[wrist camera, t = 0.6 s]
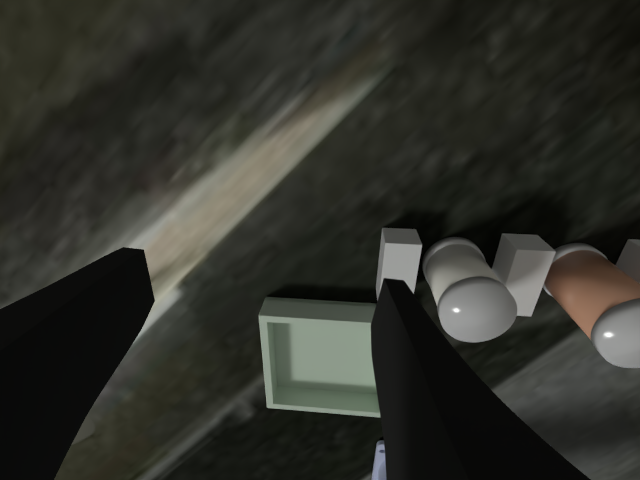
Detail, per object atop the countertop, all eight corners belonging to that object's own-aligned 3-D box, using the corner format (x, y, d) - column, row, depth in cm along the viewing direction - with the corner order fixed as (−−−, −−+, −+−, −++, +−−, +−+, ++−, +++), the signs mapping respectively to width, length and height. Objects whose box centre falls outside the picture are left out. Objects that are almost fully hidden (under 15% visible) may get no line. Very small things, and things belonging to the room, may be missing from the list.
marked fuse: (588, 294, 21) (667, 370, 16) (529, 291, 21) (587, 364, 16) (612, 244, 20) (709, 310, 14) (547, 241, 20) (619, 304, 14)
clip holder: (751, 309, 21) (789, 332, 19) (375, 287, 22) (377, 306, 20) (799, 247, 19) (846, 266, 17) (382, 227, 20) (385, 243, 18)
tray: (383, 394, 27) (385, 417, 25) (272, 385, 27) (267, 407, 26) (396, 304, 23) (400, 324, 21) (265, 296, 23) (258, 315, 22)
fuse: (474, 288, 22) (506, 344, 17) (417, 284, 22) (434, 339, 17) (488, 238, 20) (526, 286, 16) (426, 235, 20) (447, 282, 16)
